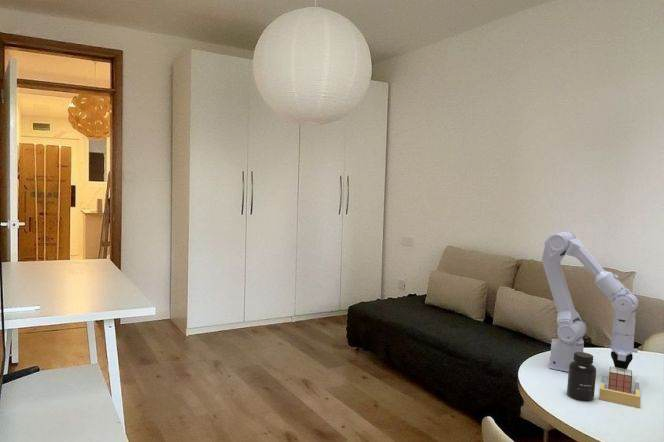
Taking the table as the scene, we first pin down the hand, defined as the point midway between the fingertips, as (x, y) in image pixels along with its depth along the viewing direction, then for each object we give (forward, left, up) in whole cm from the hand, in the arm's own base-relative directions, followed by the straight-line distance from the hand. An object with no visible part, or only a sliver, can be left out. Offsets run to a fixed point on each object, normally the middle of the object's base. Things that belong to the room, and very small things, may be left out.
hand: (620, 377), depth 149 cm
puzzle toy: (0, -7, -2) cm, 7 cm away
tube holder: (0, -11, -1) cm, 11 cm away
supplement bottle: (-9, -19, -2) cm, 21 cm away
